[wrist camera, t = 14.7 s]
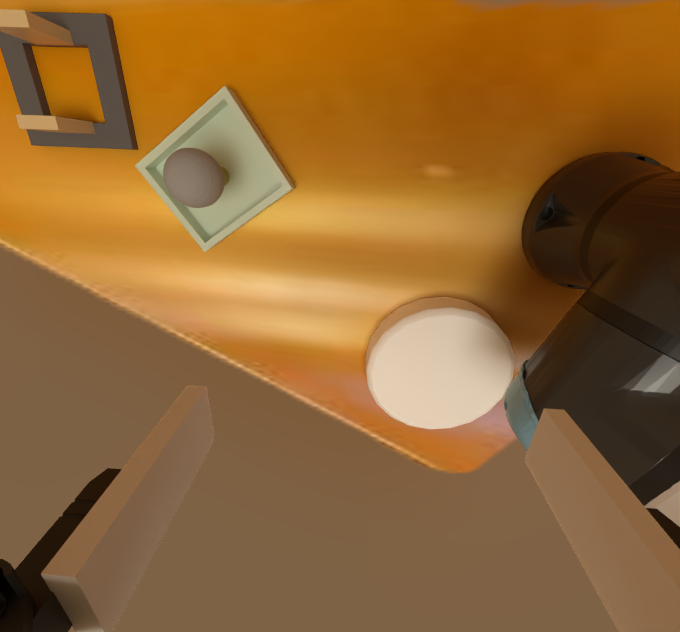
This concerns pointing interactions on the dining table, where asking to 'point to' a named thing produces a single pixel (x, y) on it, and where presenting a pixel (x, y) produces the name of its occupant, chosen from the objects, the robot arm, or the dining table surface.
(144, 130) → the dining table surface
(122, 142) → the frame
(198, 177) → the light bulb
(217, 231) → the parts tray
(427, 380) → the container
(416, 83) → the dining table surface
